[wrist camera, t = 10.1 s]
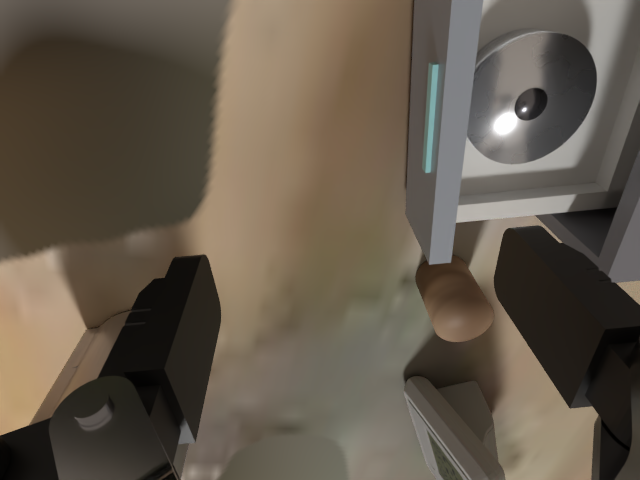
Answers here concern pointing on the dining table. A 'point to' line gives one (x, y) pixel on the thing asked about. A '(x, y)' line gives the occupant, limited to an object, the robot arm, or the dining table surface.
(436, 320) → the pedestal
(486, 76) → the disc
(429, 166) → the grey drawer box
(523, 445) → the dining table surface
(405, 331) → the dining table surface
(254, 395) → the dining table surface
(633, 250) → the housing
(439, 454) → the grey tissue
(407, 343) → the dining table surface
